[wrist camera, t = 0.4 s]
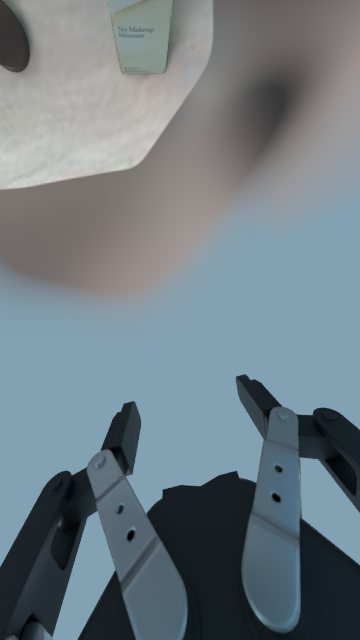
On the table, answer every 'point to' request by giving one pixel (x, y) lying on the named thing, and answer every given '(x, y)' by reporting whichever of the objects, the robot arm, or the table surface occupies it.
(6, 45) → the spoon
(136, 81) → the table surface
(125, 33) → the cosmetic box
